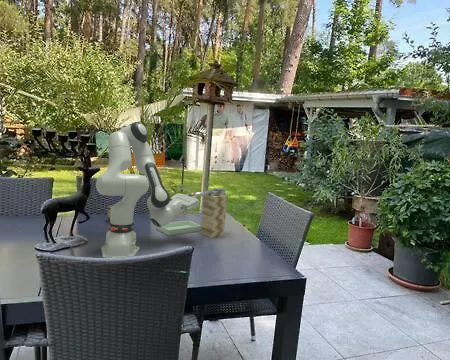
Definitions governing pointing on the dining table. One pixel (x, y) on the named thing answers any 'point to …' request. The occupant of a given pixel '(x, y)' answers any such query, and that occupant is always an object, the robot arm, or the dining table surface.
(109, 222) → the food container
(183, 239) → the dining table surface
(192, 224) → the pin tray
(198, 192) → the stop pin
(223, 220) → the pin post
